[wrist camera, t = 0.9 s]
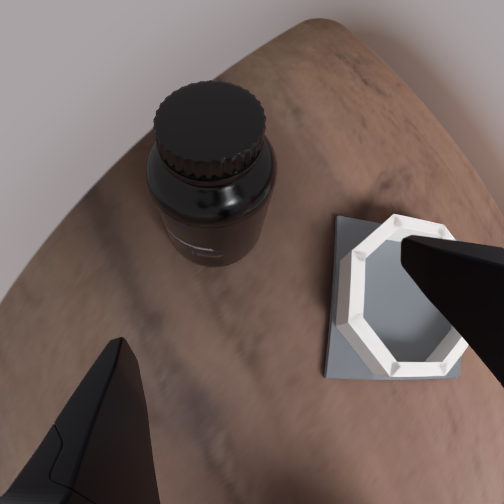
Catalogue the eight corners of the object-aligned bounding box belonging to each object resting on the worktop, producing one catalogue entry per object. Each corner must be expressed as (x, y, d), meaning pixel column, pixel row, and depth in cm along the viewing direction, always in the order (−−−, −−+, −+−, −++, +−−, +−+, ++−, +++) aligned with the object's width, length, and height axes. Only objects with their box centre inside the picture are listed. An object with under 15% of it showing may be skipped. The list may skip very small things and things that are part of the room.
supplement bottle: (175, 277, 22) (125, 199, 11) (166, 192, 24) (128, 78, 13) (270, 261, 23) (308, 171, 12) (252, 179, 25) (268, 60, 14)
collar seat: (455, 377, 21) (478, 377, 18) (323, 377, 21) (337, 380, 18) (455, 241, 25) (475, 229, 22) (335, 218, 25) (348, 200, 22)
